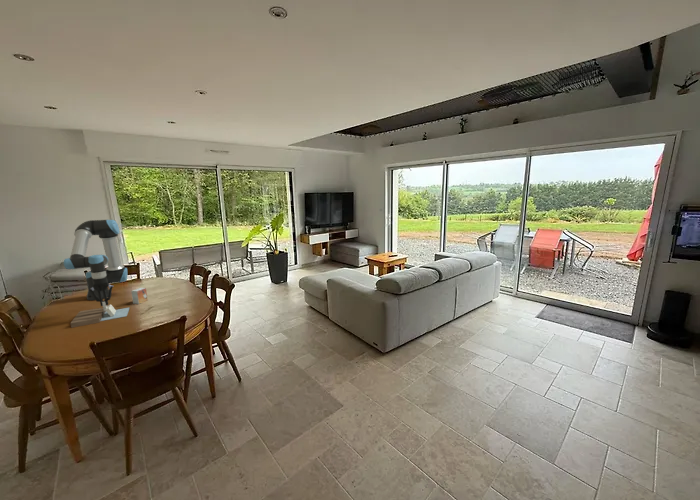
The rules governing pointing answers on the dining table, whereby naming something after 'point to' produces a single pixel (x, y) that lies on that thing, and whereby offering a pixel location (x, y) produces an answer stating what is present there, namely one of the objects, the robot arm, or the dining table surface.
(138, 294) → the small box
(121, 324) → the dining table surface
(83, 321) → the deck
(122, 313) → the mat
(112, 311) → the white flat block
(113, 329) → the dining table surface
